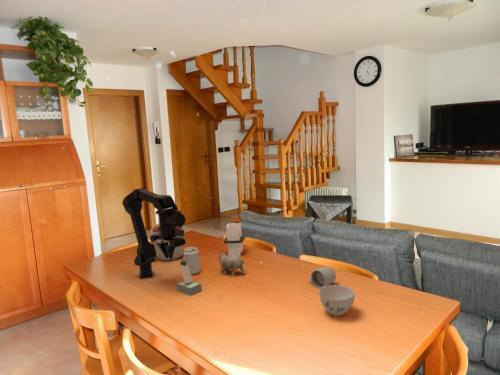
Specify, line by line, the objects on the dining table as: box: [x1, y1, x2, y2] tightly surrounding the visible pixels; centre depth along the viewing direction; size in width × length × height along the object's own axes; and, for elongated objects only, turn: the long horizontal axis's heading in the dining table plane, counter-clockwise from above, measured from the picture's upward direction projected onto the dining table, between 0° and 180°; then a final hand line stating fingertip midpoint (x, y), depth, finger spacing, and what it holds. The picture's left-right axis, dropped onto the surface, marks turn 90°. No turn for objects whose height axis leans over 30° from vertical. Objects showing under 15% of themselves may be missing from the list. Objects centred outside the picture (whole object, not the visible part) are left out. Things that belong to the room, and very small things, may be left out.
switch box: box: [176, 280, 203, 296], centre depth 166 cm, size 9×6×3 cm, turn 49°
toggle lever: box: [179, 260, 194, 284], centre depth 165 cm, size 3×3×10 cm
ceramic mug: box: [309, 266, 337, 289], centre depth 164 cm, size 11×8×8 cm
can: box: [182, 246, 201, 275], centre depth 187 cm, size 8×8×12 cm
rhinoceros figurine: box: [217, 252, 246, 277], centre depth 183 cm, size 8×14×15 cm
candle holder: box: [223, 222, 246, 256], centre depth 212 cm, size 25×24×16 cm
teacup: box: [318, 284, 356, 317], centre depth 140 cm, size 15×12×8 cm
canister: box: [150, 224, 185, 261], centre depth 211 cm, size 18×18×21 cm
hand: (169, 258), depth 173 cm, fingers open, 2 cm apart
